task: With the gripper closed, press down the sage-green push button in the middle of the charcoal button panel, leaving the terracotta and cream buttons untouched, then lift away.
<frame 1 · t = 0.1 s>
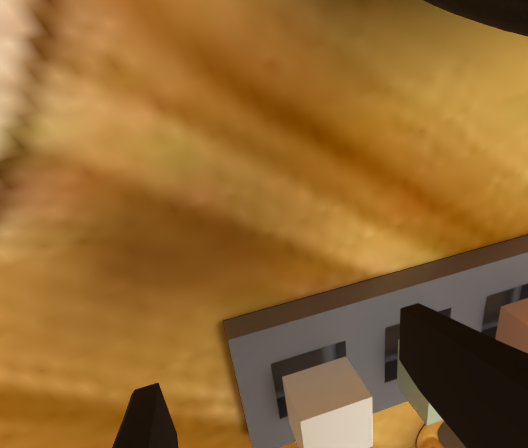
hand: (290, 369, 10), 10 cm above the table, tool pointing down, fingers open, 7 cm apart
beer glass: (444, 428, 32), on the table
button panel: (402, 329, 26), on the table
sage button: (441, 371, 22), point 4 cm above the table, slide at 0.0 cm
cream button: (327, 411, 21), point 4 cm above the table, slide at 0.0 cm
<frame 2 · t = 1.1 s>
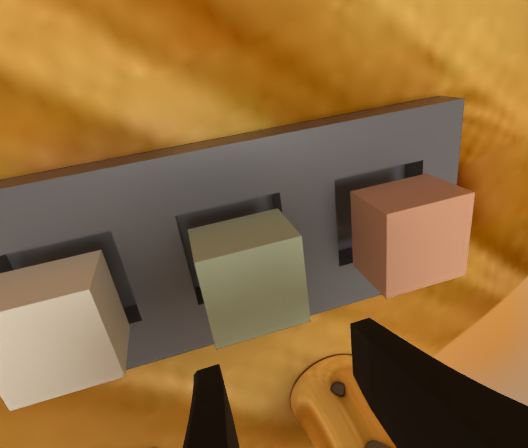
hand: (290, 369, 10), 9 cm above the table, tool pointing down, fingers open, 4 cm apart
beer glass: (330, 386, 25), on the table
terracotta button: (407, 232, 17), point 4 cm above the table, slide at 0.0 cm
button panel: (231, 236, 19), on the table
sage button: (248, 274, 15), point 4 cm above the table, slide at 0.0 cm
cream button: (58, 325, 14), point 4 cm above the table, slide at 0.0 cm
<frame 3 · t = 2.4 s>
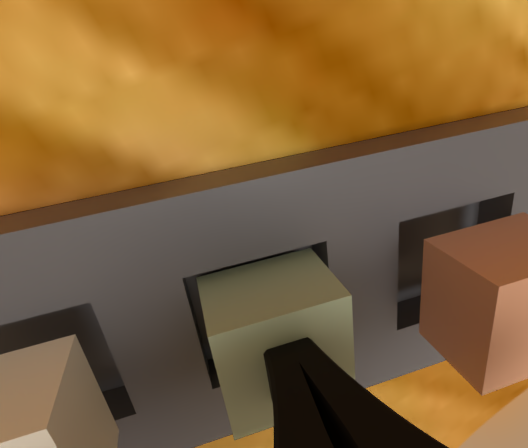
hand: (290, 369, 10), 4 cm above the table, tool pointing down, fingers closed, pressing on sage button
terracotta button: (504, 297, 12), point 4 cm above the table, slide at 0.0 cm
button panel: (255, 292, 14), on the table
sage button: (275, 336, 12), point 3 cm above the table, slide at 1.3 cm, touching gripper
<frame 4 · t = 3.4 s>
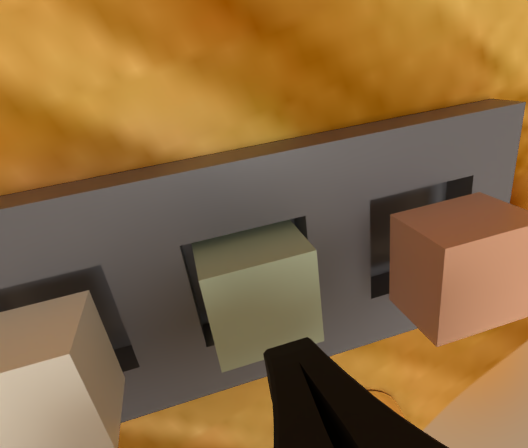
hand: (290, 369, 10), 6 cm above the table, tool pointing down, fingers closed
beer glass: (351, 424, 23), on the table
terracotta button: (459, 264, 14), point 4 cm above the table, slide at 0.0 cm
button panel: (244, 263, 16), on the table
sage button: (256, 290, 14), point 2 cm above the table, slide at 1.8 cm
cream button: (34, 388, 11), point 4 cm above the table, slide at 0.0 cm
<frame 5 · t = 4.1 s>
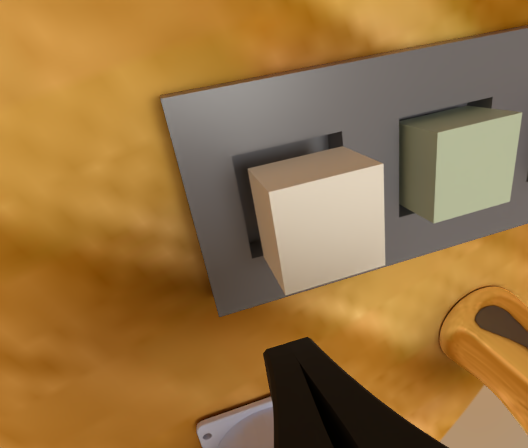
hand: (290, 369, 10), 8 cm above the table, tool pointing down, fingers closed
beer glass: (474, 321, 25), on the table
button panel: (421, 152, 19), on the table
sage button: (451, 161, 17), point 2 cm above the table, slide at 1.8 cm
cream button: (315, 216, 14), point 4 cm above the table, slide at 0.0 cm
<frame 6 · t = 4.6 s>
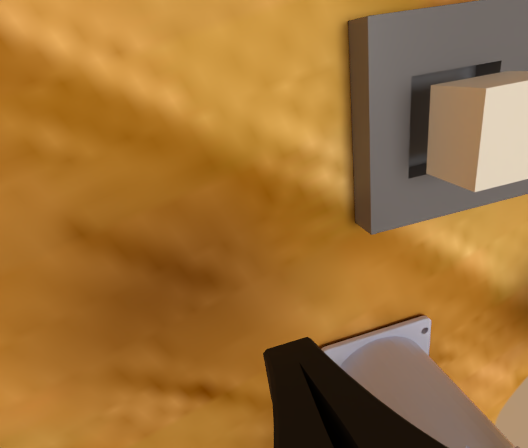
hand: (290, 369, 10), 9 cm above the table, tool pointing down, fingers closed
cream button: (492, 128, 16), point 4 cm above the table, slide at 0.0 cm
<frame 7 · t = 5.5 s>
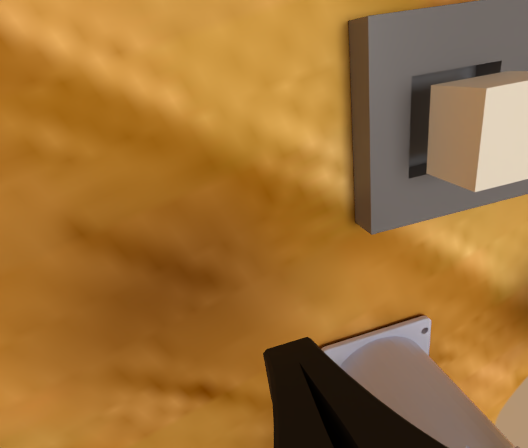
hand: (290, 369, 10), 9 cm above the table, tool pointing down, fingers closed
cream button: (492, 128, 16), point 4 cm above the table, slide at 0.0 cm
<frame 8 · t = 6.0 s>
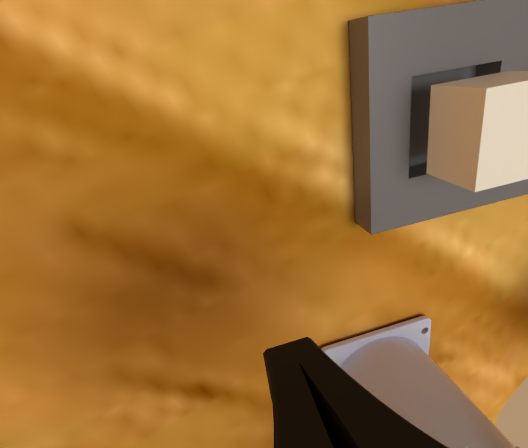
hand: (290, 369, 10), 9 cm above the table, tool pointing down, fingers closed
cream button: (492, 128, 16), point 4 cm above the table, slide at 0.0 cm
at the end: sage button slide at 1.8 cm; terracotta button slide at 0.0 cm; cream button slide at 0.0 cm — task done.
